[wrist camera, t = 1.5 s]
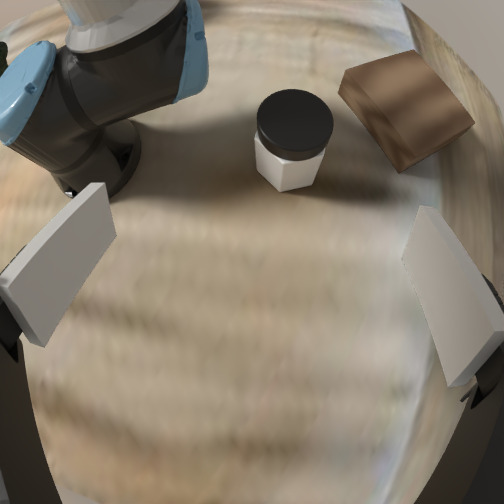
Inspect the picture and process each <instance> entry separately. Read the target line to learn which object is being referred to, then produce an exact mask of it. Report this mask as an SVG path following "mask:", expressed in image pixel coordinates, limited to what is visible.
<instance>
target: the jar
mask: <svg viewBox="0 0 504 504" xmlns="http://www.w3.org/2000/svg"><path fill="white" fill-rule="evenodd" d="M333 124H334V123H333V116H332V113H331V111H330V109H329V108H328V106H327V105H326V104H325V103H324V102H323V101H322V100H321V99H320V98H319V97H317V96H316V95H314V94H312V93H309V92H307V91H303V90H298V89H286V90H281V91H278V92H275V93H273V94H271V95H270V96H268V97H267V98H266V99H265V100H264V101H263V102H262V103H261V105H260V107H259V109H258V112H257V131H256V134H255V137H254V140H255V154H256V168H257V171H258V172H259V173H260V174H261V175H262V176H263V177H264V178H266V179H267V180H268V181H269V182H270V183H271V184H272V185H273V186H274V187H275V188H276V189H277V190H278V191H279V192H283V191H287V190H292V189H296V188H301V187H305V186H310V185H312V184H313V181H314V179H315V176H316V174H317V171H318V169H319V167H320V164H321V162H322V159H323V157H324V153H325V149H326V146H327V144H328V141H329V139H330V136H331V134H332V131H333Z"/></svg>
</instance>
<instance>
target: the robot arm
mask: <svg viewBox="0 0 504 504" xmlns="http://www.w3.org/2000/svg"><path fill="white" fill-rule="evenodd" d="M58 1H59V3H60V5H61V6H62V8H63V10H64V11H65V13H66V14H67V16H68V18H69V19H70V21H71V23H70V26H69V29H68V31H67V34H66V38H65V43H66V45H65V46H63V47H61V48H59V49H56V46H55V44H54V43H50V42H49V41H39V42H36V43H34V44H32V45H31V46H29V47H28V48H27V49H25V50H24V51H23V52H22V53H21V54H20V55H18V56H17V57H16V58H15V59H14V61H13V62H12V63H11V64H10V65H9V66H8V68H7V69H6V70H5V72H4V73H3V75H2V76H1V78H0V140H1V142H2V143H3V145H5V146H8V147H9V148H11V149H13V150H14V151H16V152H18V153H19V154H21V155H23V156H24V157H26V158H28V159H29V160H31V161H33V162H34V163H36V164H38V165H39V166H41V167H43V168H45V169H46V170H48V171H49V172H50V173H51V175H52V176H53V178H54V180H55V181H56V183H57V184H58V186H59V187H60V189H61V190H62V192H63V193H64V194H66V195H67V196H68V197H70V198H72V200H71V201H70V202H69V203H68V204H67V205H66V206H65V207H64V208H63V209H62V210H61V211H60V212H59V213H58V214H56V215H55V216H54V217H53V218H52V219H51V220H50V221H49V222H48V223H47V224H46V225H45V226H44V227H43V228H42V229H41V231H40V232H39V233H38V234H37V235H36V236H35V237H34V238H33V239H32V240H31V241H30V242H29V243H28V244H27V245H25V246H24V247H23V248H22V249H21V250H20V252H19V253H18V254H17V255H16V257H14V258H13V259H12V261H11V262H10V264H8V265H7V266H6V268H5V269H4V270H3V271H2V272H1V274H0V504H62V501H61V499H60V496H59V494H58V491H57V489H56V486H55V484H54V481H53V478H52V475H51V473H50V470H49V467H48V464H47V461H46V457H45V454H44V451H43V448H42V444H41V441H40V437H39V433H38V429H37V425H36V421H35V417H34V413H33V408H32V403H31V398H30V393H29V388H28V382H27V375H26V368H25V361H24V353H23V345H22V342H21V340H20V339H19V336H20V335H21V333H22V332H23V333H24V335H25V336H26V338H27V339H28V340H29V342H30V343H33V344H35V345H38V346H41V347H44V348H45V346H46V344H47V343H48V341H49V339H50V337H51V336H52V334H53V332H54V330H55V329H56V327H57V325H58V324H59V322H60V320H61V319H62V317H63V315H64V314H65V312H66V310H67V309H68V307H69V305H70V304H71V302H72V301H73V299H74V298H75V296H76V294H77V293H78V291H79V290H80V288H81V287H82V285H83V284H84V282H85V281H86V279H87V278H88V276H89V275H90V273H91V272H92V270H93V269H94V267H95V266H96V264H97V263H98V261H99V260H100V259H101V257H102V256H103V254H104V253H105V251H106V250H107V249H108V247H109V246H110V245H111V243H112V242H113V240H114V239H115V238H116V236H117V235H116V231H115V227H114V223H113V218H112V214H111V209H110V205H109V200H108V198H110V197H111V196H113V195H114V194H116V193H117V192H118V191H119V190H120V189H121V188H122V187H123V186H124V185H125V184H126V183H127V182H128V180H129V179H130V178H131V176H132V174H133V173H134V171H135V169H136V167H137V164H138V161H139V157H140V152H141V142H140V137H139V134H138V132H137V130H136V129H135V127H134V126H133V125H132V123H131V122H130V121H129V120H128V119H127V118H130V117H133V116H135V115H138V114H141V113H144V112H147V111H150V110H153V109H156V108H159V107H163V106H166V105H169V104H174V103H176V102H178V101H179V100H182V99H184V98H187V97H190V96H193V95H196V94H198V93H200V92H201V91H202V90H203V89H204V88H205V87H206V85H207V82H208V77H209V65H208V51H207V43H206V38H205V36H204V35H205V31H204V21H203V16H202V11H201V7H200V4H199V2H198V0H58ZM402 261H403V263H404V265H405V267H406V270H407V272H408V274H409V277H410V279H411V282H412V284H413V286H414V289H415V291H416V294H417V296H418V299H419V302H420V304H421V307H422V309H423V312H424V315H425V317H426V320H427V323H428V326H429V329H430V331H431V334H432V337H433V340H434V343H435V346H436V349H437V352H438V355H439V359H440V362H441V365H442V369H443V372H444V375H445V379H446V382H447V386H448V387H454V386H461V385H466V383H467V382H468V381H469V380H470V379H471V378H472V377H473V376H474V375H476V378H477V381H478V382H477V383H476V384H475V385H474V386H473V387H472V388H471V389H470V390H469V391H468V392H467V393H466V394H465V395H464V396H463V397H462V399H461V400H460V401H461V402H463V401H464V400H465V399H466V398H467V397H469V398H468V401H467V403H466V406H465V409H464V411H463V413H462V416H461V418H460V420H459V423H458V425H457V427H456V429H455V431H454V434H453V436H452V438H451V440H450V442H449V444H448V446H447V448H446V450H445V452H444V454H443V456H442V458H441V459H440V461H439V463H438V465H437V467H436V469H435V470H434V472H433V474H432V476H431V477H430V479H429V481H428V482H427V484H426V486H425V487H424V489H423V490H422V492H421V494H420V495H419V497H418V498H417V500H416V501H415V503H414V504H504V305H503V302H502V300H501V298H500V297H499V296H498V293H497V291H496V290H495V288H494V286H493V285H492V283H491V282H490V281H489V280H488V279H487V278H486V277H485V276H484V275H483V274H481V273H480V272H479V270H478V268H477V267H476V265H475V264H474V262H473V261H472V259H471V257H470V256H469V254H468V253H467V251H466V250H465V248H464V247H463V245H462V244H461V243H460V241H459V240H458V238H457V237H456V235H455V234H454V233H453V231H452V230H451V228H450V227H449V226H448V224H447V223H446V222H445V220H444V219H443V218H442V216H441V215H440V214H439V212H438V211H437V210H436V208H435V207H430V206H424V205H420V206H419V209H418V212H417V215H416V218H415V221H414V224H413V227H412V230H411V233H410V236H409V239H408V242H407V245H406V248H405V250H404V253H403V256H402Z"/></svg>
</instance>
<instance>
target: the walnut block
mask: <svg viewBox="0 0 504 504" xmlns="http://www.w3.org/2000/svg"><path fill="white" fill-rule="evenodd" d="M338 94H339V95H340V96H341V98H342V99H343V100H344V101H345V102H346V103H347V105H348V106H349V107H350V108H351V110H352V111H353V112H354V113H355V114H356V116H357V117H358V118H359V119H360V121H361V122H362V123H363V125H364V126H365V127H366V128H367V130H368V131H369V132H370V134H371V135H372V136H373V138H374V139H375V140H376V142H377V143H378V144H379V146H380V147H381V148H382V150H383V151H384V153H385V154H386V155H387V157H388V158H389V160H390V161H391V163H392V164H393V165H394V167H395V168H396V170H397V171H398V173H401V172H402V171H404V170H406V169H408V168H409V167H411V166H413V165H414V164H416V163H418V162H419V161H421V160H423V159H424V158H426V157H428V156H429V155H431V154H433V153H434V152H436V151H438V150H440V149H441V148H443V147H445V146H446V145H448V144H450V143H451V142H453V141H455V140H456V139H458V138H459V137H460V136H461V135H462V134H464V133H465V132H466V131H467V130H468V129H469V128H470V127H471V126H472V125H474V124H475V121H474V120H473V119H472V117H471V116H470V114H469V113H468V112H467V110H466V109H465V108H464V106H463V105H462V104H461V103H460V101H459V100H458V99H457V97H456V96H455V95H454V94H453V92H452V91H451V90H450V89H449V88H448V86H447V85H446V84H445V83H444V82H443V81H442V79H441V78H440V77H439V76H438V75H437V74H436V73H435V71H434V70H433V69H432V68H431V67H430V66H429V65H428V64H427V63H426V62H425V61H424V60H423V58H422V57H421V56H420V55H419V54H418V53H417V52H416V51H415V50H410V51H406V52H402V53H399V54H395V55H392V56H388V57H385V58H381V59H378V60H375V61H371V62H368V63H365V64H362V65H359V66H356V67H353V68H350V69H347V70H345V73H344V76H343V79H342V82H341V85H340V88H339V91H338Z"/></svg>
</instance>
